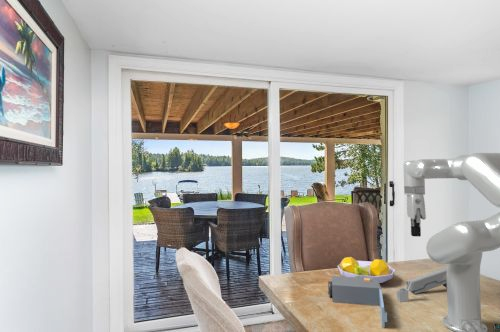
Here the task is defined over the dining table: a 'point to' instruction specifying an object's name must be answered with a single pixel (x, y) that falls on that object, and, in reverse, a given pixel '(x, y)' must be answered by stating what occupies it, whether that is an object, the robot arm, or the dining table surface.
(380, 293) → the side door
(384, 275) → the fruit bowl
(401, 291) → the pale grey angled bracket
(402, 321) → the dining table surface
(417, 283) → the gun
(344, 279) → the grey block
